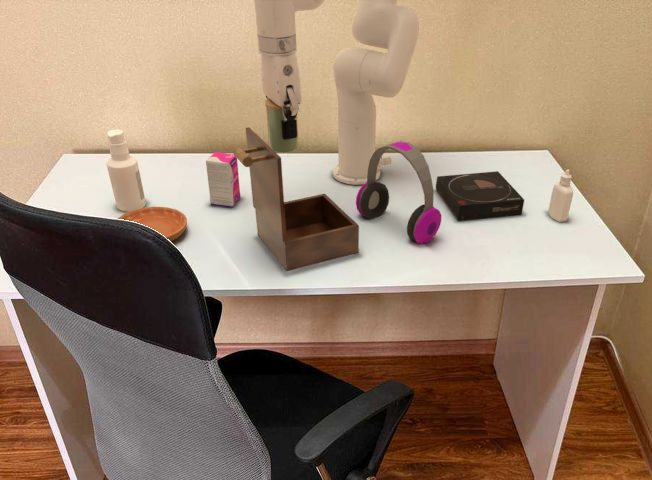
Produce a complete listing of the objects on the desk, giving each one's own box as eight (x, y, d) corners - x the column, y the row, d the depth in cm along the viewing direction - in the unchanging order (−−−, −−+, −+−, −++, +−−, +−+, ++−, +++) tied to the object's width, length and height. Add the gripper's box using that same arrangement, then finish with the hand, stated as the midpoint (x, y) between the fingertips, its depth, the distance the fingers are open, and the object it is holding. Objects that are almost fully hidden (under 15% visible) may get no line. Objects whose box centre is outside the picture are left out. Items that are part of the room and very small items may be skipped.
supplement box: (233, 208, 159) (228, 163, 152) (210, 205, 160) (203, 160, 153) (241, 198, 164) (237, 153, 156) (219, 195, 164) (213, 151, 157)
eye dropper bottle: (565, 212, 162) (576, 165, 154) (567, 223, 157) (578, 175, 150) (547, 210, 162) (557, 164, 154) (548, 221, 158) (558, 174, 150)
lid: (249, 127, 133) (222, 131, 130) (281, 157, 121) (252, 163, 119) (256, 206, 144) (232, 211, 141) (286, 240, 132) (260, 247, 130)
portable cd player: (494, 184, 173) (497, 170, 170) (521, 214, 160) (524, 199, 158) (435, 190, 170) (436, 175, 167) (457, 221, 157) (459, 205, 154)
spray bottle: (152, 202, 160) (137, 129, 149) (133, 214, 156) (116, 140, 144) (130, 196, 163) (113, 124, 151) (110, 208, 158) (92, 134, 146)
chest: (325, 222, 155) (324, 193, 150) (358, 256, 143) (359, 225, 139) (257, 238, 148) (255, 208, 144) (286, 274, 137) (284, 243, 132)
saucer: (144, 212, 157) (142, 200, 155) (202, 225, 152) (200, 213, 150) (99, 243, 145) (96, 231, 143) (161, 258, 141) (158, 246, 139)
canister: (291, 138, 147) (289, 94, 141) (304, 149, 142) (302, 104, 136) (263, 143, 144) (259, 98, 138) (275, 154, 140) (272, 109, 134)
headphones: (443, 238, 150) (452, 154, 138) (417, 252, 145) (424, 165, 133) (377, 207, 161) (380, 126, 149) (352, 219, 156) (352, 136, 144)
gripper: (313, 52, 126) (316, 143, 137) (277, 30, 137) (283, 116, 149) (276, 57, 123) (283, 150, 134) (243, 34, 134) (251, 121, 146)
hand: (283, 131), depth 141 cm, fingers closed on canister, 6 cm apart
